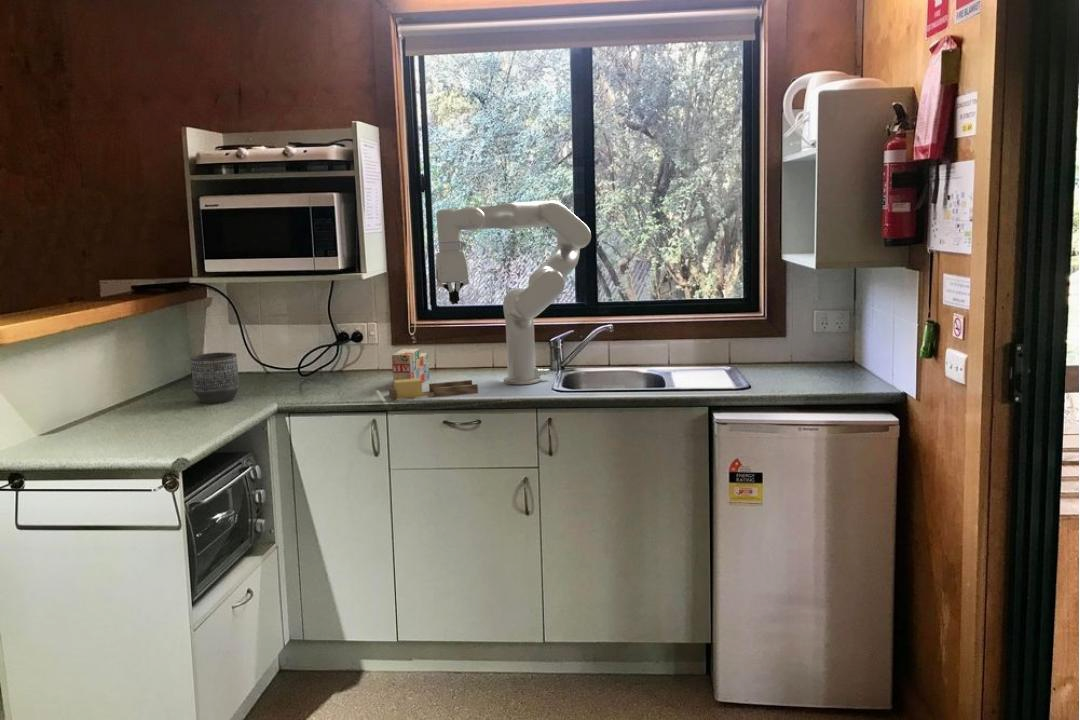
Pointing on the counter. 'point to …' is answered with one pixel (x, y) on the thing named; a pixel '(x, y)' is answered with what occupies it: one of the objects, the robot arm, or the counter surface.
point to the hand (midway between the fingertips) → (454, 303)
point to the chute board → (443, 389)
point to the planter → (215, 377)
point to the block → (408, 388)
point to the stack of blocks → (410, 365)
